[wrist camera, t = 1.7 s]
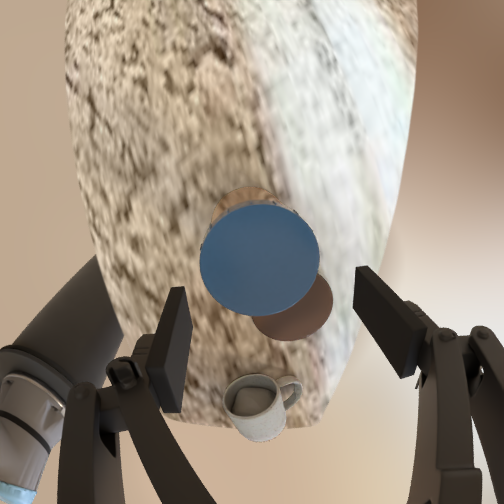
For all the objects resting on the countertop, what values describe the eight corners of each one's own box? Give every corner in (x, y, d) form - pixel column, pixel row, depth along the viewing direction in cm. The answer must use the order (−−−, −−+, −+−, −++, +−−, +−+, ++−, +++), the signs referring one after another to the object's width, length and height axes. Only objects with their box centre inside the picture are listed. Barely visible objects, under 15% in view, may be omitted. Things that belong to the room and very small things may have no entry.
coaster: (237, 325, 36) (237, 327, 36) (274, 254, 33) (275, 256, 33) (306, 347, 38) (307, 349, 38) (346, 285, 35) (347, 286, 35)
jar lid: (185, 282, 23) (182, 292, 22) (229, 180, 21) (229, 183, 19) (281, 318, 25) (285, 329, 24) (332, 228, 23) (340, 235, 21)
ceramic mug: (238, 413, 42) (242, 452, 35) (220, 380, 39) (222, 422, 32) (304, 396, 42) (317, 433, 35) (294, 360, 39) (308, 400, 32)
